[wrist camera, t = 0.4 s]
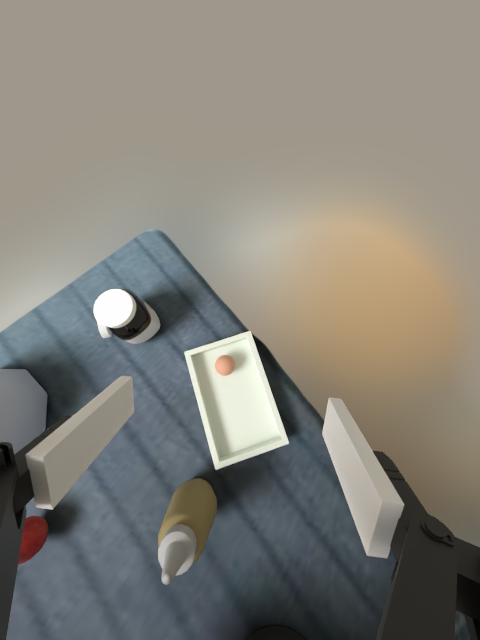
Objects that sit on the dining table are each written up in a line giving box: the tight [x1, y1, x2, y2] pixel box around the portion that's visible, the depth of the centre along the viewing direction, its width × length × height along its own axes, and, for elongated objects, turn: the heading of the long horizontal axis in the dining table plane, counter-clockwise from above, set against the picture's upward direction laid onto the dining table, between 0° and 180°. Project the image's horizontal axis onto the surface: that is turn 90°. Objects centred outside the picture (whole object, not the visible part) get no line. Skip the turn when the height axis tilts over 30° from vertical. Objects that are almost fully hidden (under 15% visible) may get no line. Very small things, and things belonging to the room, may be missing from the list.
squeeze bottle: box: [158, 478, 217, 585], centre depth 34 cm, size 8×8×18 cm
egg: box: [215, 355, 235, 376], centre depth 46 cm, size 4×4×4 cm
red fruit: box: [18, 516, 48, 564], centre depth 38 cm, size 6×6×8 cm
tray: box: [184, 331, 289, 470], centre depth 45 cm, size 22×14×3 cm, turn 18°
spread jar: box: [94, 289, 160, 344], centre depth 45 cm, size 12×11×12 cm
